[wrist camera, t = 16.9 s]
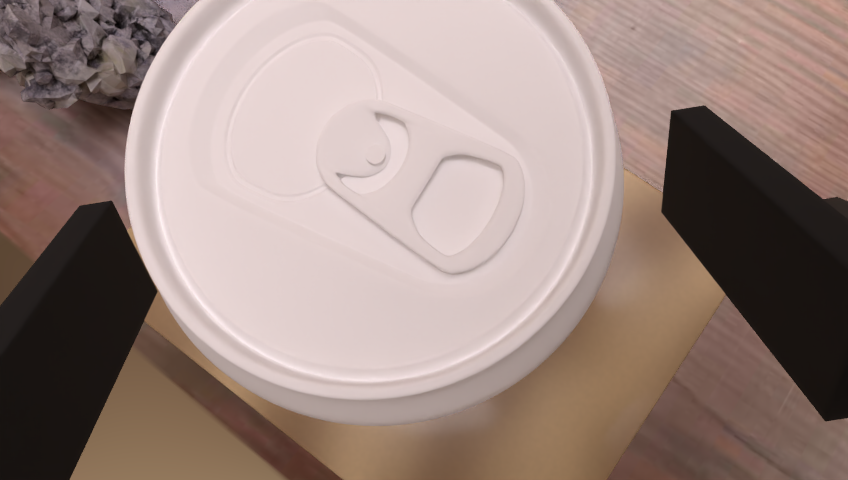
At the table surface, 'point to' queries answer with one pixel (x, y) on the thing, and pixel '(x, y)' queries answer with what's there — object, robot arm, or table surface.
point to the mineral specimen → (81, 48)
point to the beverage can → (375, 196)
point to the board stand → (536, 377)
